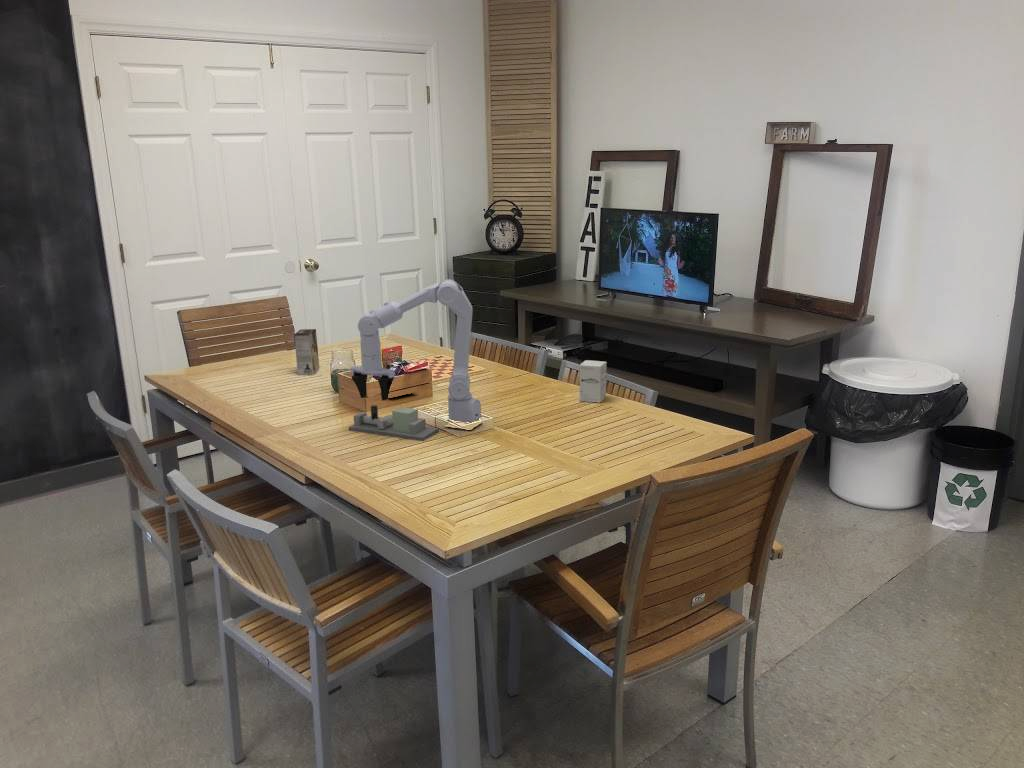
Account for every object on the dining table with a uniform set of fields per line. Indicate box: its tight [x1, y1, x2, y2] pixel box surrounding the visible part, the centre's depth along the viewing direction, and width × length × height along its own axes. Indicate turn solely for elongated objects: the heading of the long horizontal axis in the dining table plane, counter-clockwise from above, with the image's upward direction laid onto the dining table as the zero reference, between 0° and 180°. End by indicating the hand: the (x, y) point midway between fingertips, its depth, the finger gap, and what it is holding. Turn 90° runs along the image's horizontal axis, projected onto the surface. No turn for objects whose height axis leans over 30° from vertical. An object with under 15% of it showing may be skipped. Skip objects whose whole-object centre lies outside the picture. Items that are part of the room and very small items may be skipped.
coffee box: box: [293, 328, 320, 376], centre depth 312 cm, size 9×6×16 cm
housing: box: [391, 406, 419, 433], centre depth 242 cm, size 6×4×6 cm
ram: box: [362, 404, 393, 429], centre depth 246 cm, size 9×6×6 cm, turn 65°
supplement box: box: [578, 359, 608, 404], centre depth 270 cm, size 7×7×13 cm
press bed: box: [348, 411, 439, 442], centre depth 244 cm, size 26×9×4 cm, turn 65°
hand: (374, 398), depth 245 cm, fingers open, 7 cm apart
